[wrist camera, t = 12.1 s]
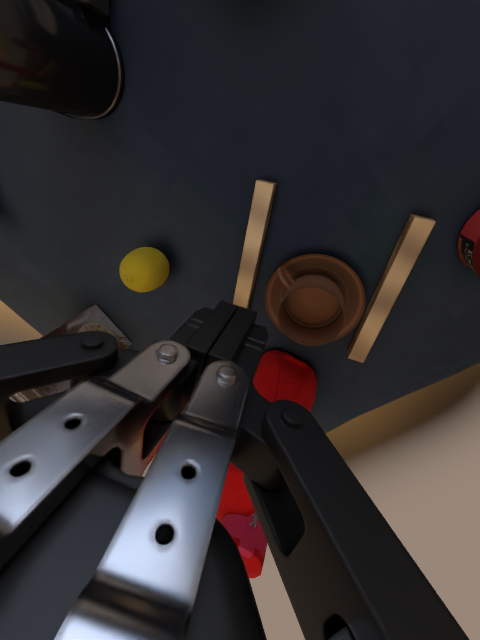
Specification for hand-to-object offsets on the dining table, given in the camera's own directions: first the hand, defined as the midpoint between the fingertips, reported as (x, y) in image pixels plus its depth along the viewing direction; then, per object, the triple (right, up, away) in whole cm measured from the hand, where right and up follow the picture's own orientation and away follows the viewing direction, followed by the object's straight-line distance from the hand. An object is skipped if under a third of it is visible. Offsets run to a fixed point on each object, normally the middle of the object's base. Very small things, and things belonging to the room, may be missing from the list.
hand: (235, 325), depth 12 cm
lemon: (-11, +9, +30) cm, 33 cm away
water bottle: (+7, -7, +32) cm, 34 cm away
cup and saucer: (+10, +3, +26) cm, 28 cm away
